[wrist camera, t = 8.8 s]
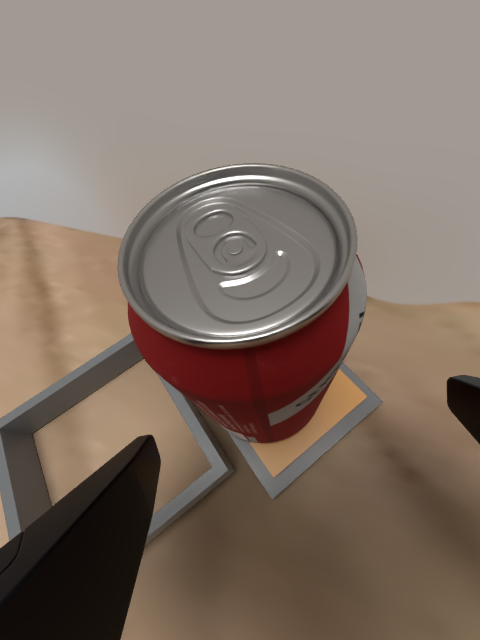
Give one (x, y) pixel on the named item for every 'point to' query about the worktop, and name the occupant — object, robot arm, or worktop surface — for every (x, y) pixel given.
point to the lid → (311, 433)
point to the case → (18, 426)
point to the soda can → (245, 294)
